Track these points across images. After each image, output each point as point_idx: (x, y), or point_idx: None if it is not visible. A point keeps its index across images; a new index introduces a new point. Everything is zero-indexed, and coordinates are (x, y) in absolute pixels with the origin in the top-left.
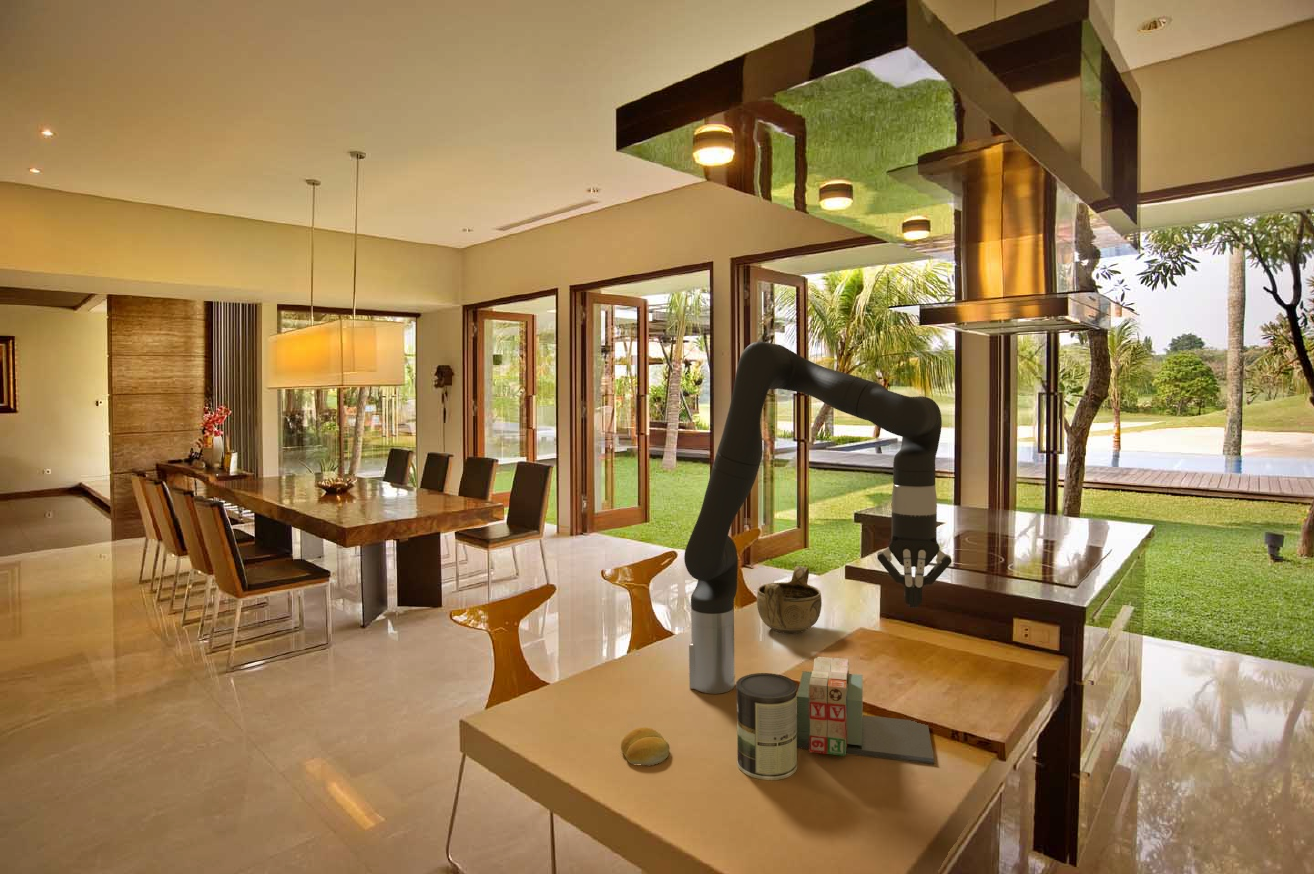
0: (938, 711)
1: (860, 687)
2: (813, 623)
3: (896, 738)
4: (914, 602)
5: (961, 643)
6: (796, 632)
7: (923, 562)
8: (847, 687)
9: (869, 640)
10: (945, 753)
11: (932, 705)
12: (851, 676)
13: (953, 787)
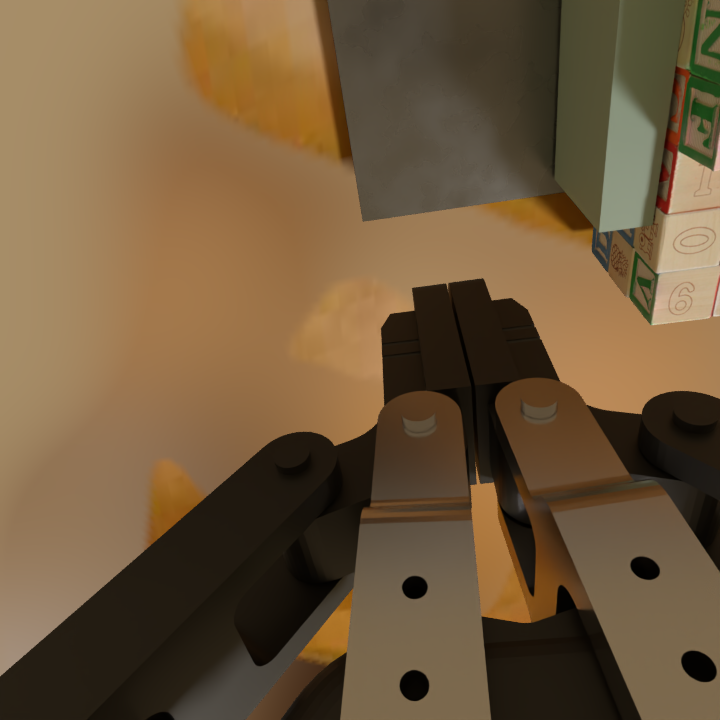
0: (343, 319)
1: (618, 97)
2: None
3: (446, 62)
4: (444, 298)
5: (329, 633)
6: None
7: (368, 704)
8: (691, 25)
9: (522, 602)
10: (296, 57)
11: (361, 346)
12: (645, 201)
13: None
